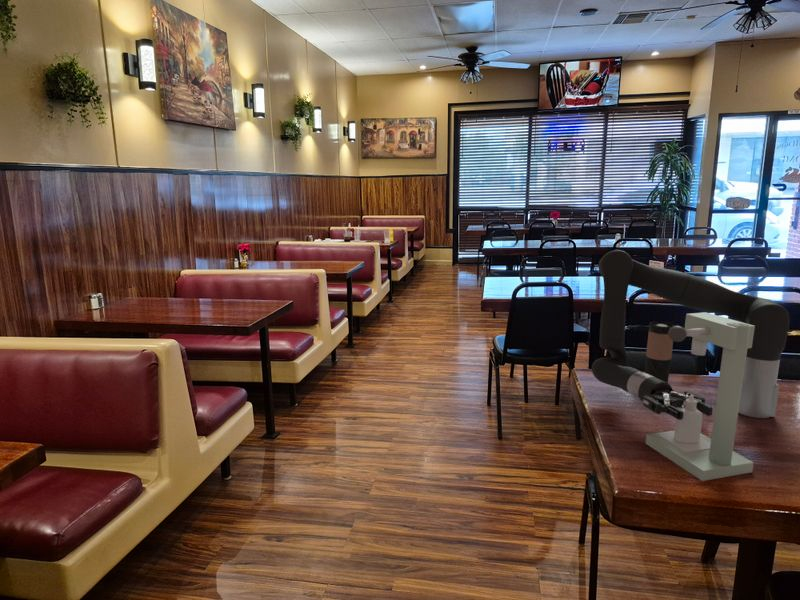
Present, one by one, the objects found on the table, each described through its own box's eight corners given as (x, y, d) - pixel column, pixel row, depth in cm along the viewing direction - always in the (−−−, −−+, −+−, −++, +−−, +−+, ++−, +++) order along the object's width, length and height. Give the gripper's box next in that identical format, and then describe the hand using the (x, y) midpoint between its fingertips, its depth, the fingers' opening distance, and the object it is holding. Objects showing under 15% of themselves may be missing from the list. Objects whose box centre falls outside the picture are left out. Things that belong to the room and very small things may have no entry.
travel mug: (658, 386, 168) (665, 328, 164) (638, 379, 175) (644, 323, 171) (673, 382, 172) (680, 325, 168) (653, 375, 179) (659, 320, 174)
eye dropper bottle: (674, 434, 129) (679, 390, 127) (699, 439, 127) (705, 394, 124) (673, 441, 126) (678, 396, 123) (699, 447, 123) (705, 400, 121)
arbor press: (626, 446, 129) (638, 312, 122) (690, 436, 134) (706, 307, 127) (680, 484, 112) (699, 332, 105) (752, 472, 117) (774, 325, 110)
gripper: (627, 379, 136) (673, 402, 120) (672, 374, 139) (722, 396, 124) (625, 405, 137) (670, 432, 122) (669, 399, 141) (718, 425, 125)
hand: (696, 414), depth 123 cm, fingers open, 8 cm apart
